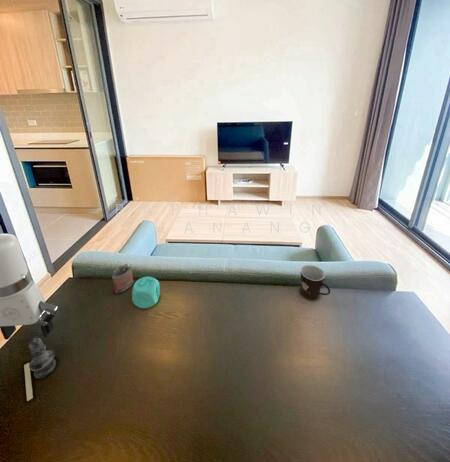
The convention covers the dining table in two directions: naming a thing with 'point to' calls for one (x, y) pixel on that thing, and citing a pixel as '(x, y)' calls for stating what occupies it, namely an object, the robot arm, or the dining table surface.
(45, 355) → the dark grey chess piece
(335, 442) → the dining table surface
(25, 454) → the dining table surface
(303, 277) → the coffee mug
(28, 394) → the beige long thin bar
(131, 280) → the lighter
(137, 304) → the decorative dice
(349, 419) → the dining table surface
